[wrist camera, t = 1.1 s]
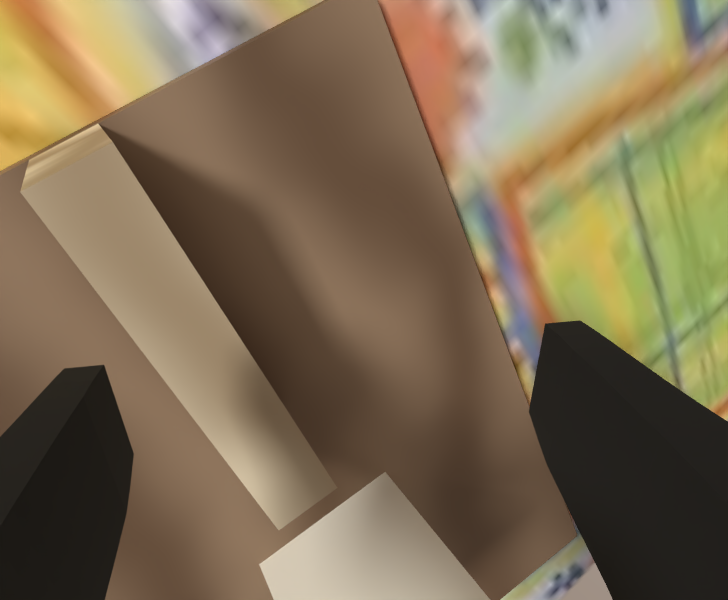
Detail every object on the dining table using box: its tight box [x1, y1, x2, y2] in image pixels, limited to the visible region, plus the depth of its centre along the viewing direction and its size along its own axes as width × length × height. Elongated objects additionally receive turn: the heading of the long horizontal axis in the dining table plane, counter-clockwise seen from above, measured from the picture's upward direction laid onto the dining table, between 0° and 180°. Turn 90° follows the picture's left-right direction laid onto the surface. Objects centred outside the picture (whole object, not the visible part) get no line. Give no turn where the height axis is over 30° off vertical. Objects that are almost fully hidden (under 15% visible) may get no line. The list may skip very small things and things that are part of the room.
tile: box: [259, 472, 490, 600], centre depth 21 cm, size 6×1×8 cm, turn 117°
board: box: [0, 0, 577, 600], centre depth 24 cm, size 20×28×1 cm
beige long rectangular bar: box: [20, 124, 337, 530], centre depth 17 cm, size 2×11×5 cm, turn 27°
